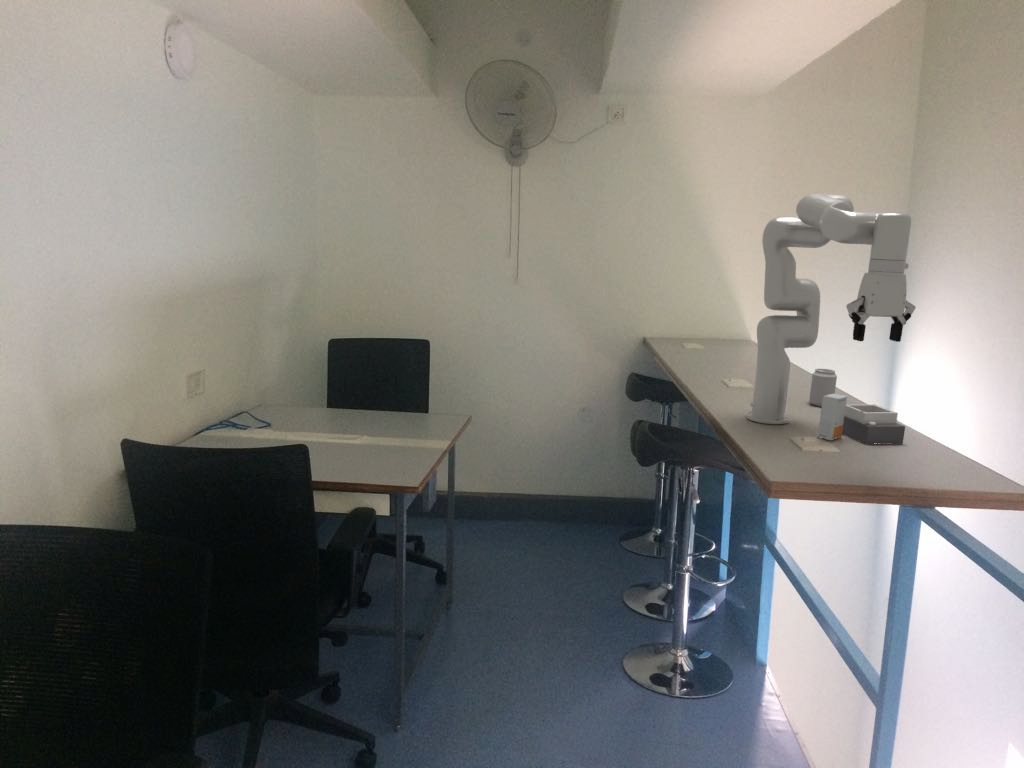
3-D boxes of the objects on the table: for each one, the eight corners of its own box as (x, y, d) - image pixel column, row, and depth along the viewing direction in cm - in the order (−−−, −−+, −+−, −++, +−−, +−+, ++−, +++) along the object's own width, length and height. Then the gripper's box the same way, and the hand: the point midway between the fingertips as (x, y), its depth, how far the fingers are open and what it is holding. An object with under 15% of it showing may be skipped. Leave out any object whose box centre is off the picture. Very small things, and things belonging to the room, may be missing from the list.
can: (836, 408, 245) (841, 372, 243) (813, 407, 245) (818, 371, 243) (827, 403, 253) (832, 368, 250) (805, 402, 253) (809, 367, 250)
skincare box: (832, 441, 205) (837, 398, 203) (817, 437, 208) (822, 395, 206) (842, 437, 209) (847, 396, 207) (827, 434, 212) (832, 393, 210)
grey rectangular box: (832, 428, 219) (835, 401, 217) (866, 428, 221) (869, 401, 219) (866, 444, 203) (870, 415, 202) (902, 443, 205) (906, 414, 203)
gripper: (908, 267, 179) (898, 338, 182) (843, 265, 176) (834, 338, 179) (931, 269, 171) (919, 343, 175) (863, 267, 168) (853, 342, 172)
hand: (876, 340), depth 177 cm, fingers open, 9 cm apart
